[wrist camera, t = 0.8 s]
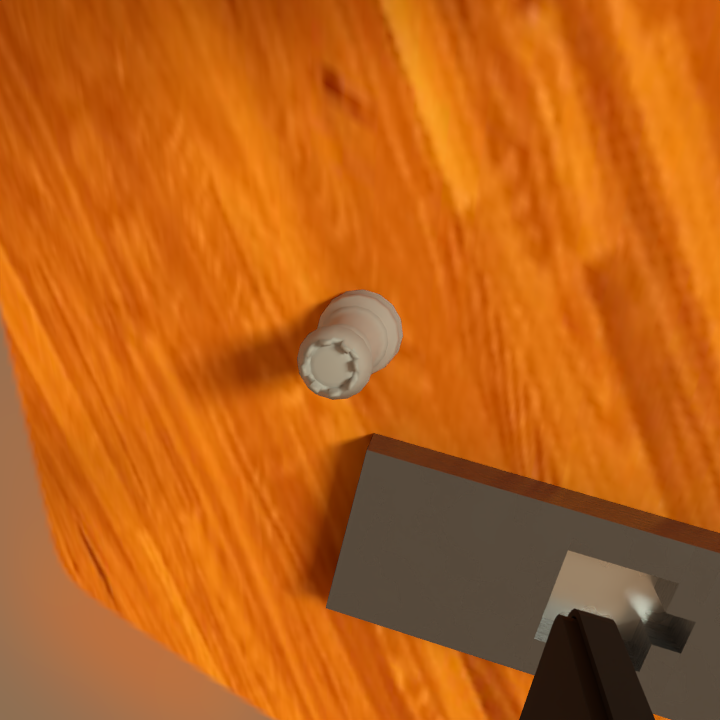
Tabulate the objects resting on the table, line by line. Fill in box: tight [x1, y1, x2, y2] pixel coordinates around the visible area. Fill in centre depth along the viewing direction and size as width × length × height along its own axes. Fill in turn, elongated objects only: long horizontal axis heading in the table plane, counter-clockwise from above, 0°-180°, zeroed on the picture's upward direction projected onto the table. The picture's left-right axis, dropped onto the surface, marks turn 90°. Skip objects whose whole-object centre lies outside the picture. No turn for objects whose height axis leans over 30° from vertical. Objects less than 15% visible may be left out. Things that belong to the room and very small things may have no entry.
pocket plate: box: [326, 433, 720, 720], centre depth 33 cm, size 10×24×2 cm, turn 77°
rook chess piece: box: [297, 290, 403, 400], centre depth 29 cm, size 4×4×8 cm
